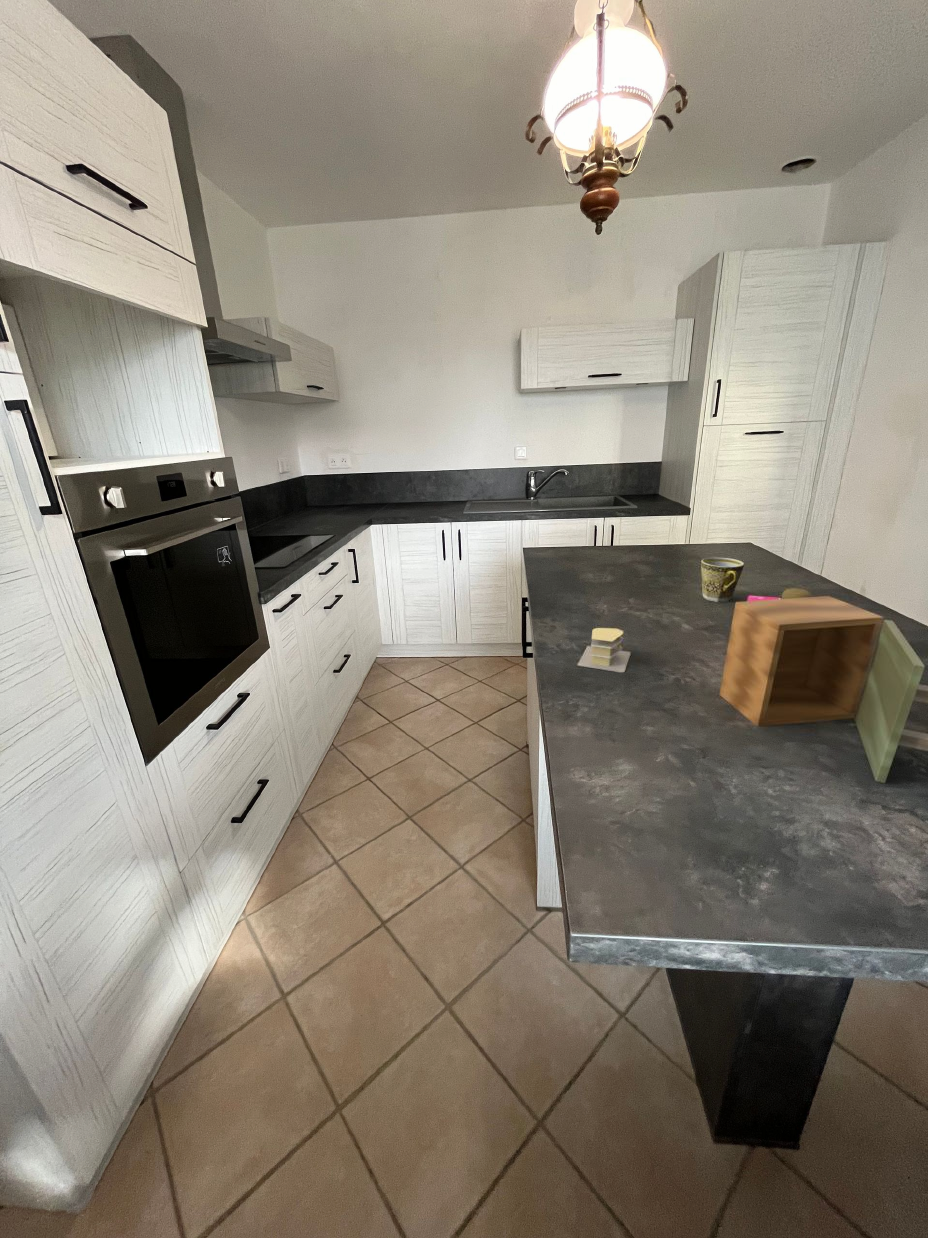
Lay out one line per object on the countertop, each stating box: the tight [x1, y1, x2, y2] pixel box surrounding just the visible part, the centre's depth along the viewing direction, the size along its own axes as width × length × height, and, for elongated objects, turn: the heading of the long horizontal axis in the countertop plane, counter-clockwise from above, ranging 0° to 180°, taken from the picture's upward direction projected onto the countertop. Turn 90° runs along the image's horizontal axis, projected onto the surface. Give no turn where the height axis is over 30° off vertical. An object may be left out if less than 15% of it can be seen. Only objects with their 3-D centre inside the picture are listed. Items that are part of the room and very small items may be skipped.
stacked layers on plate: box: [577, 627, 632, 673], centre depth 98 cm, size 10×9×6 cm
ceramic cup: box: [700, 557, 745, 603], centre depth 127 cm, size 13×10×10 cm
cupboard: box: [719, 595, 885, 727], centre depth 77 cm, size 10×16×17 cm, turn 96°
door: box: [853, 619, 928, 784], centre depth 64 cm, size 7×16×17 cm, turn 151°
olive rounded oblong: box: [781, 587, 813, 599], centre depth 103 cm, size 6×6×11 cm
